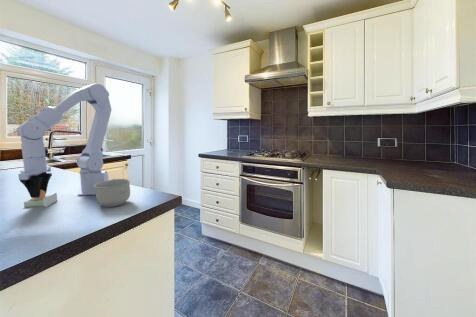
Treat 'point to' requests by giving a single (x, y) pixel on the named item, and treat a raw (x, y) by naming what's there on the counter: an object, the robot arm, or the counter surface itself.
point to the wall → (50, 199)
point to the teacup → (112, 192)
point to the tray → (33, 202)
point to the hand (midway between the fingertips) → (38, 195)
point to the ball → (42, 195)
